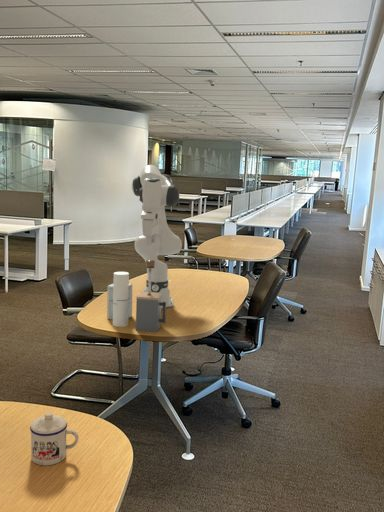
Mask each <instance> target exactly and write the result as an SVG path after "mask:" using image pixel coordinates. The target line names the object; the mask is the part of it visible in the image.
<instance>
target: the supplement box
mask: <svg viewBox="0 0 384 512" xmlns="http://www.w3.org/2000/svg"><path fill="white" fill-rule="evenodd" d="M106 288H107V295H106V297H107V302H106V304H107V308H106V309H107V311H106V314H107V315H106V316H107V318H108V319H110V320H113V283H111V284H109V285H107V287H106ZM132 317H133V284H132V283H129V294H128V319H129V318H132Z"/></svg>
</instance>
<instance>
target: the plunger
mask: <svg viewBox="0 0 384 512" xmlns="http://www.w3.org/2000/svg"><path fill="white" fill-rule="evenodd" d="M147 268H149V282H148V295H151V268H155V260H146V262H145V269H147Z"/></svg>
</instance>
